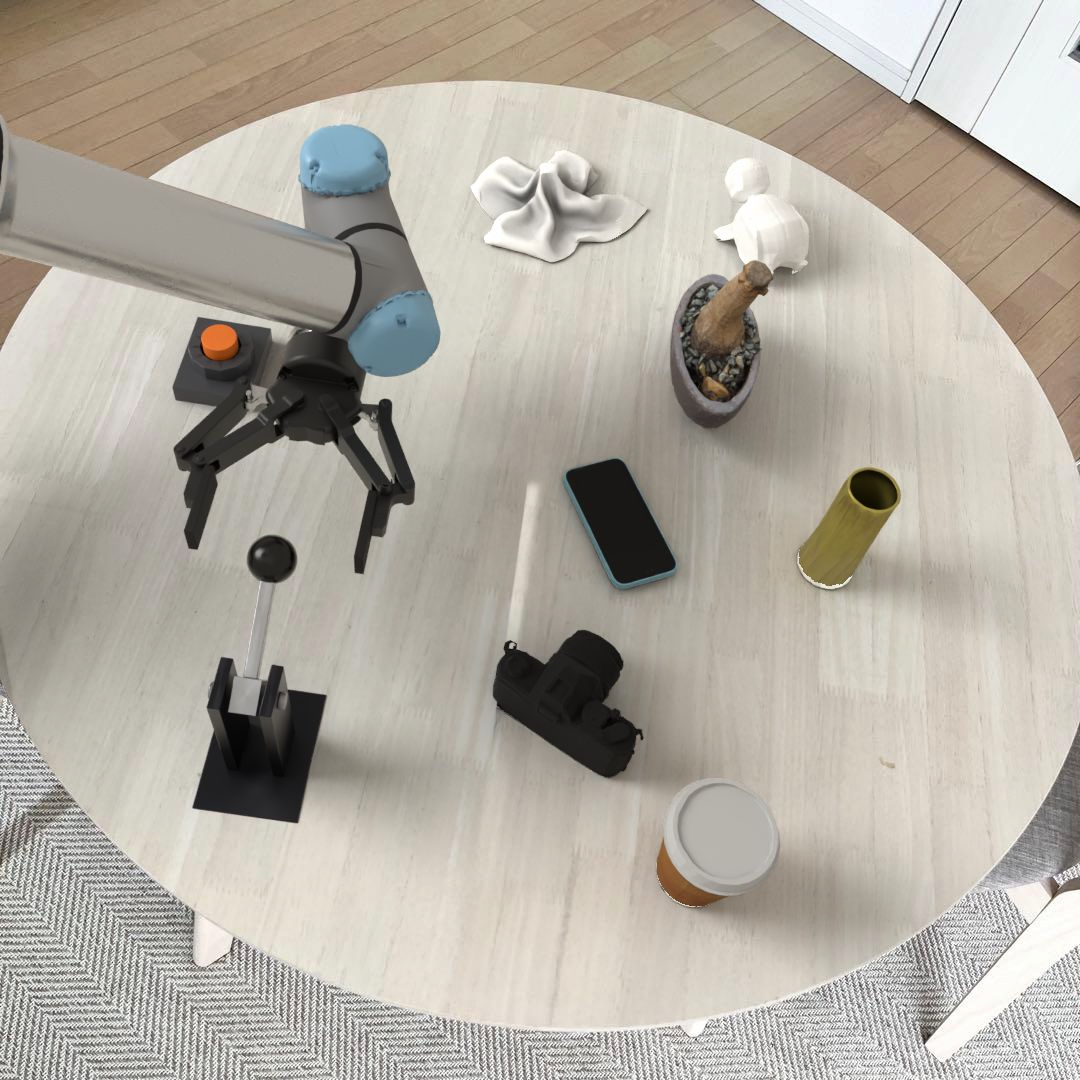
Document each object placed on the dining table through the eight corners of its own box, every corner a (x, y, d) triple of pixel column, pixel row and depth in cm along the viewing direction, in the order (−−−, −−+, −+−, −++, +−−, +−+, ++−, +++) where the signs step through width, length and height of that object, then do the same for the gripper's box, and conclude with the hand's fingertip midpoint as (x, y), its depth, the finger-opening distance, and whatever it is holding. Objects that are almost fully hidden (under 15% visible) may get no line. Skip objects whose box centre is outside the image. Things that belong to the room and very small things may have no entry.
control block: (175, 400, 120) (169, 376, 116) (200, 330, 125) (195, 304, 121) (250, 412, 120) (247, 388, 116) (272, 341, 125) (269, 316, 122)
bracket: (229, 686, 104) (208, 610, 91) (326, 700, 104) (319, 627, 92) (193, 812, 97) (166, 750, 85) (298, 827, 98) (285, 767, 85)
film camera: (664, 713, 107) (686, 673, 100) (610, 792, 103) (629, 757, 95) (533, 625, 111) (545, 580, 103) (475, 699, 106) (482, 657, 98)
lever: (256, 534, 93) (247, 528, 89) (304, 541, 93) (297, 535, 89) (224, 708, 91) (213, 710, 87) (274, 716, 92) (265, 718, 88)
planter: (697, 468, 123) (747, 346, 106) (603, 365, 129) (637, 234, 112) (794, 412, 129) (856, 288, 112) (701, 316, 135) (746, 185, 118)
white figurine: (794, 281, 144) (751, 174, 145) (827, 252, 136) (782, 140, 137) (737, 297, 141) (694, 188, 143) (767, 268, 133) (722, 153, 135)
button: (199, 358, 118) (197, 347, 117) (208, 332, 120) (206, 321, 119) (233, 363, 118) (231, 352, 117) (242, 338, 120) (240, 327, 119)
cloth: (497, 273, 135) (501, 235, 129) (449, 169, 143) (451, 128, 138) (666, 242, 141) (677, 204, 135) (610, 144, 149) (619, 104, 144)
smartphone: (622, 455, 122) (681, 569, 114) (620, 461, 122) (679, 574, 115) (560, 471, 119) (617, 588, 112) (559, 477, 120) (615, 593, 113)
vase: (783, 560, 118) (829, 483, 106) (821, 530, 121) (870, 452, 109) (827, 601, 116) (879, 527, 104) (864, 569, 119) (919, 494, 107)
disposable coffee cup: (631, 915, 97) (661, 878, 87) (643, 809, 102) (672, 762, 92) (740, 936, 97) (782, 902, 87) (746, 829, 102) (787, 784, 92)
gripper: (461, 401, 107) (426, 597, 95) (195, 360, 105) (128, 553, 94) (466, 349, 100) (429, 552, 89) (183, 304, 99) (110, 504, 88)
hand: (274, 553), depth 91 cm, fingers open, 13 cm apart
